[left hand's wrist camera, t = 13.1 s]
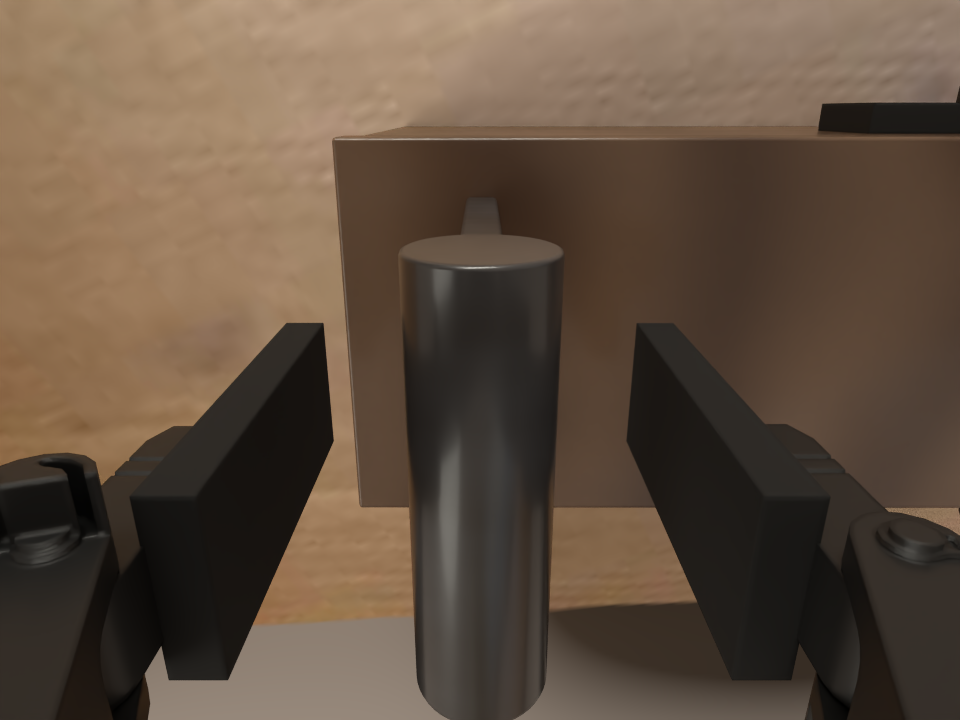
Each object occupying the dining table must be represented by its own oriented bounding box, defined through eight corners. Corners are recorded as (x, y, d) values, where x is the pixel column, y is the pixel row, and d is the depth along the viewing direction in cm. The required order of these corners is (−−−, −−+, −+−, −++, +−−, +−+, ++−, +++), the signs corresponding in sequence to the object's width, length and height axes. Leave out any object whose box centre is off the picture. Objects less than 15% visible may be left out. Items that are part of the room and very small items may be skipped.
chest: (411, 371, 28) (381, 484, 19) (402, 126, 24) (361, 135, 16) (817, 371, 27) (961, 484, 19) (864, 126, 24) (1064, 134, 16)
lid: (366, 484, 19) (275, 780, 11) (341, 135, 16) (181, 164, 7) (963, 485, 19) (1344, 782, 11) (1066, 135, 16) (1741, 164, 7)
